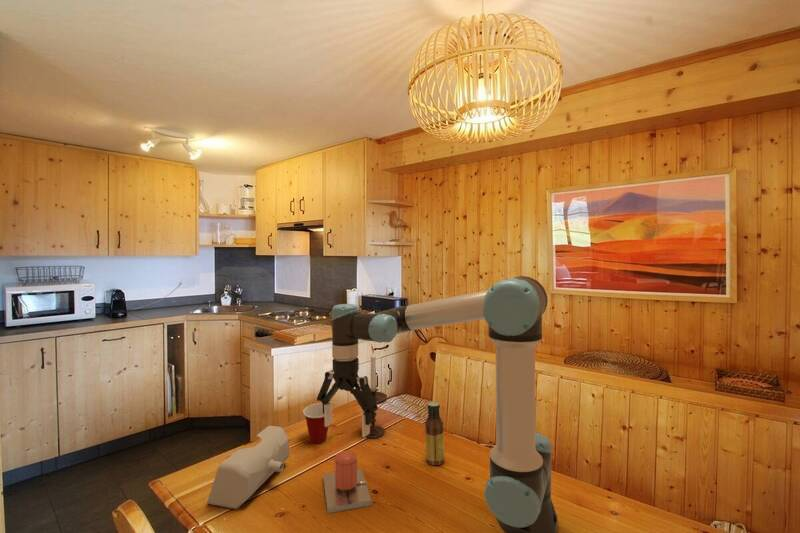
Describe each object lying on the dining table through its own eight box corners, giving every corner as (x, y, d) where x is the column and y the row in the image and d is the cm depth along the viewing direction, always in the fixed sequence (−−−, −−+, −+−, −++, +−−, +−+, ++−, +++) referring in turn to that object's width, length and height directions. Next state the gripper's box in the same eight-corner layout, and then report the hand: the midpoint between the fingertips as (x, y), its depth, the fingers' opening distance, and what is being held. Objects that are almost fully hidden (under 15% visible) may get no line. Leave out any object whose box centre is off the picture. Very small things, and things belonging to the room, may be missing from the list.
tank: (256, 515, 101) (256, 470, 100) (205, 506, 105) (205, 462, 104) (302, 464, 125) (301, 427, 125) (259, 458, 129) (258, 422, 128)
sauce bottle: (444, 456, 130) (444, 400, 129) (444, 467, 124) (445, 407, 123) (425, 455, 130) (425, 399, 130) (424, 466, 124) (424, 406, 124)
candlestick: (357, 439, 142) (357, 347, 140) (361, 426, 152) (361, 340, 151) (385, 440, 141) (386, 347, 140) (387, 427, 152) (388, 341, 151)
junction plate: (372, 506, 104) (372, 472, 104) (327, 514, 101) (327, 480, 101) (362, 472, 120) (362, 443, 120) (323, 479, 117) (323, 449, 117)
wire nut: (358, 487, 109) (358, 460, 108) (336, 491, 107) (336, 463, 107) (354, 475, 115) (354, 449, 114) (334, 478, 113) (334, 452, 113)
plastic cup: (298, 446, 136) (298, 414, 136) (309, 432, 147) (309, 402, 147) (327, 448, 135) (327, 415, 134) (336, 434, 146) (336, 403, 145)
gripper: (389, 359, 107) (390, 433, 107) (321, 350, 119) (322, 416, 119) (374, 366, 100) (375, 445, 101) (304, 355, 112) (305, 426, 113)
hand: (346, 429), depth 110 cm, fingers open, 13 cm apart
